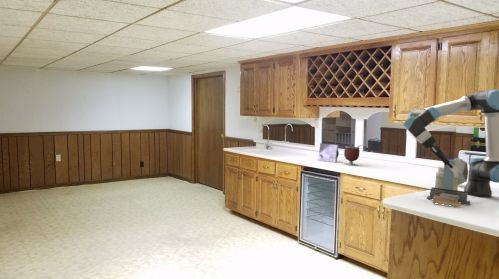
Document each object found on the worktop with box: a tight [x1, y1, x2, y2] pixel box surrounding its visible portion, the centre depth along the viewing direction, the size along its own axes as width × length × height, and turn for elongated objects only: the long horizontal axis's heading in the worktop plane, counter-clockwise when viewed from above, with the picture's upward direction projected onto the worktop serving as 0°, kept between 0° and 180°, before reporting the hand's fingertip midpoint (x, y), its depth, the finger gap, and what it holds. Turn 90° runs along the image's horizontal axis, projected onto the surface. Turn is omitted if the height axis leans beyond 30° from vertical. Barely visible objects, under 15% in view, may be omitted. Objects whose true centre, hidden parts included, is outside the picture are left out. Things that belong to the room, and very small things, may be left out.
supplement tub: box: [434, 166, 459, 191], centre depth 230 cm, size 12×12×17 cm
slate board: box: [442, 159, 455, 190], centre depth 212 cm, size 3×5×16 cm, turn 59°
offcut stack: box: [432, 193, 462, 208], centre depth 203 cm, size 8×13×5 cm, turn 59°
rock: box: [452, 157, 469, 186], centre depth 273 cm, size 27×6×20 cm, turn 1°
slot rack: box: [426, 186, 471, 206], centre depth 213 cm, size 8×21×6 cm, turn 59°
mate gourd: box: [343, 144, 362, 167], centre depth 362 cm, size 16×14×20 cm
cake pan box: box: [318, 143, 340, 164], centre depth 380 cm, size 19×5×18 cm, turn 58°
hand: (456, 172), depth 210 cm, fingers closed on slate board, 3 cm apart
